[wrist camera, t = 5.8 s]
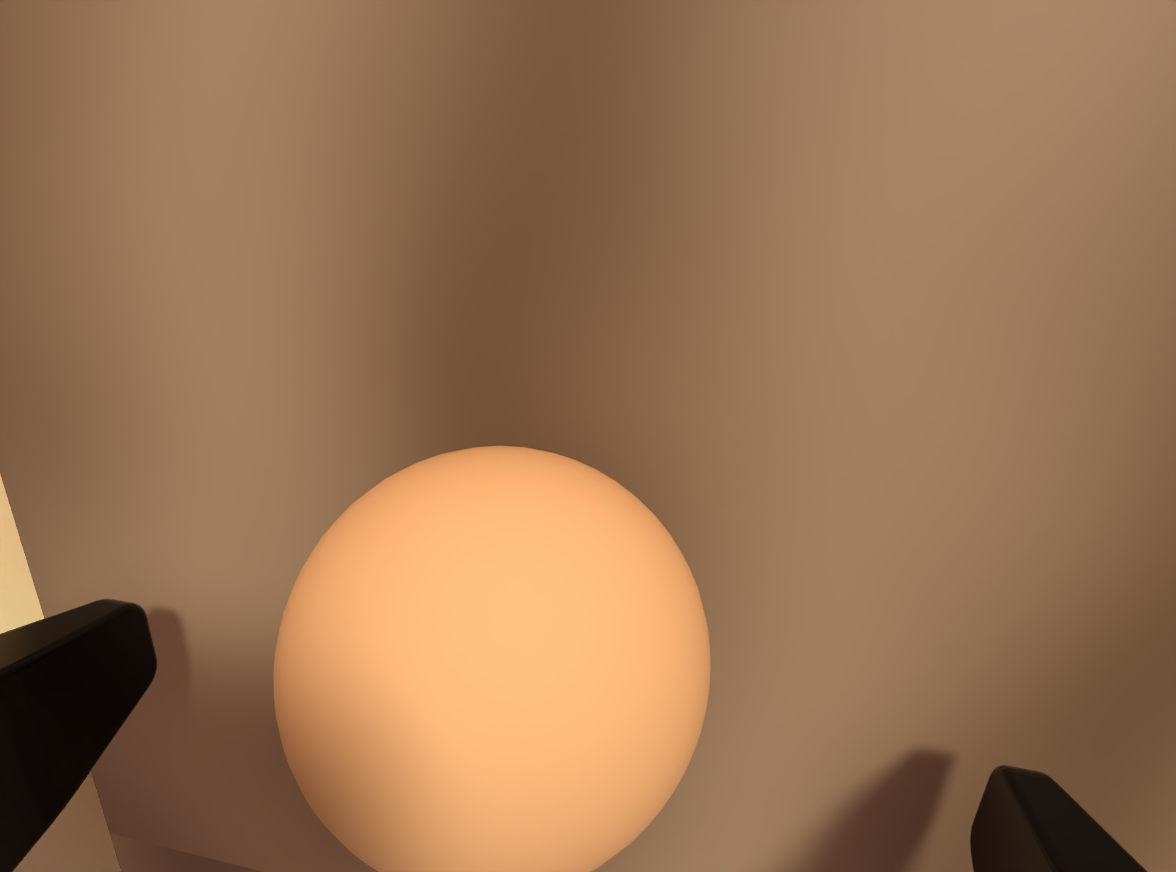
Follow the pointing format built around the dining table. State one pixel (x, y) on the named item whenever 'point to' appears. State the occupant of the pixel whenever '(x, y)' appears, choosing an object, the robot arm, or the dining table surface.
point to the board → (621, 375)
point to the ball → (492, 667)
